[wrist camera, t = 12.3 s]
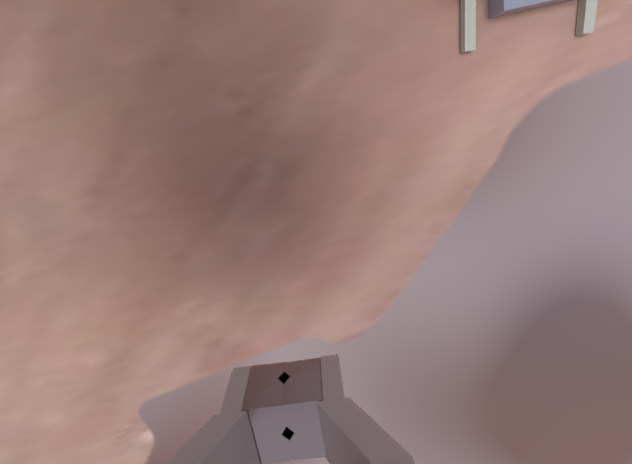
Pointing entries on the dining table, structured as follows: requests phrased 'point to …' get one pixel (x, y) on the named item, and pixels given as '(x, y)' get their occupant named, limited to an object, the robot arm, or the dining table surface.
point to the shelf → (468, 22)
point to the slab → (516, 6)
